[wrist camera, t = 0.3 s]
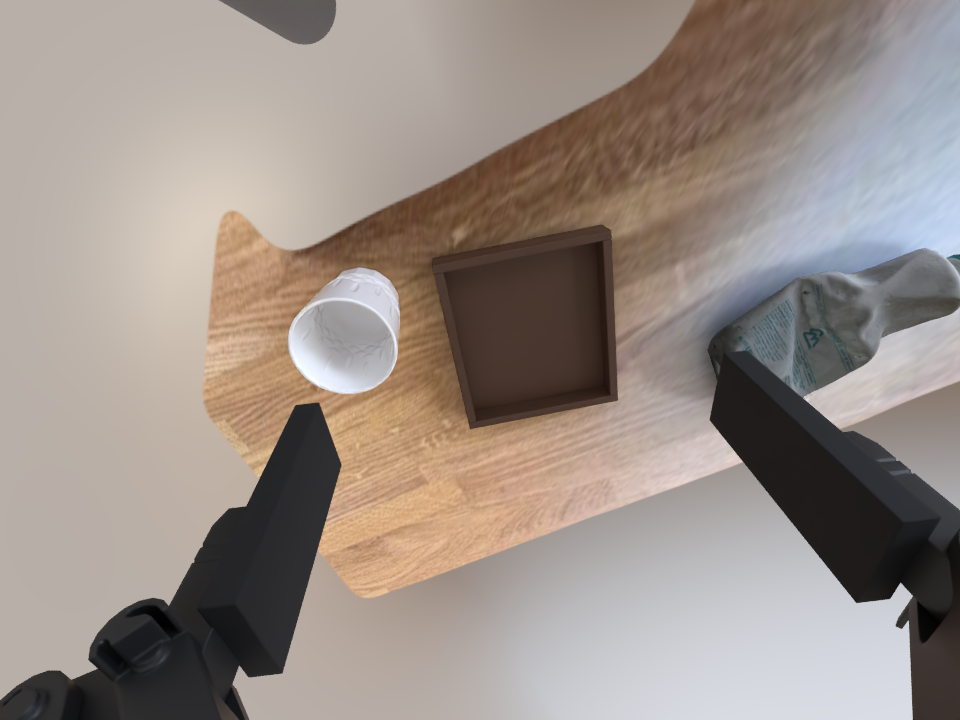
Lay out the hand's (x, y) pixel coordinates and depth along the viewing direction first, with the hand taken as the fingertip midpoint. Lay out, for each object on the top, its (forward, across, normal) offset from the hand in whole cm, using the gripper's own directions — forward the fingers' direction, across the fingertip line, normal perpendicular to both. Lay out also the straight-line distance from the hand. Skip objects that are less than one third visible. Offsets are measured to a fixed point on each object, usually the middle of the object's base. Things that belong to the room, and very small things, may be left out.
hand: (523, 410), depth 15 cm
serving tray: (+28, +4, -12) cm, 30 cm away
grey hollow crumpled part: (+28, +34, -14) cm, 46 cm away
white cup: (+28, -11, -7) cm, 31 cm away
